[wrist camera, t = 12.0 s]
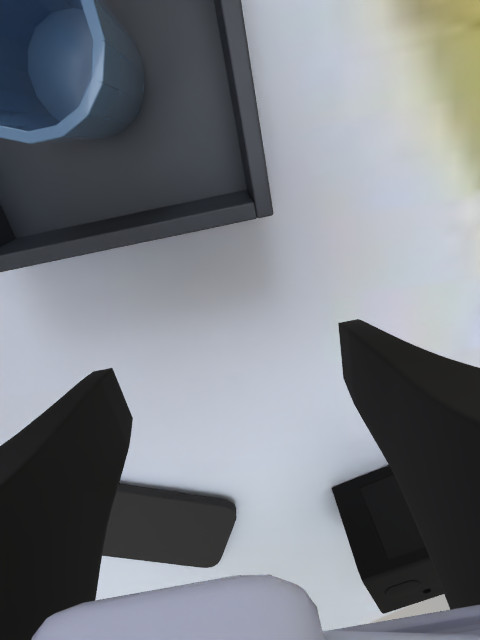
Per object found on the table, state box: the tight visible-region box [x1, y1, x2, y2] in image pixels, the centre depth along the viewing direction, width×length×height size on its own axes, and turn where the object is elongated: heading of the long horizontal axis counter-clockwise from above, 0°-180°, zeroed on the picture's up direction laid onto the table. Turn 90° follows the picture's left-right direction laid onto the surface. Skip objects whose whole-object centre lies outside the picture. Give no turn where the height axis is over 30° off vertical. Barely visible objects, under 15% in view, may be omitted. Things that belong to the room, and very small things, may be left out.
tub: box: [0, 0, 273, 272], centre depth 15 cm, size 13×13×4 cm
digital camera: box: [332, 466, 444, 613], centre depth 27 cm, size 10×5×7 cm, turn 117°
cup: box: [0, 0, 145, 144], centre depth 14 cm, size 5×5×7 cm
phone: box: [102, 484, 236, 568], centre depth 29 cm, size 7×1×15 cm
